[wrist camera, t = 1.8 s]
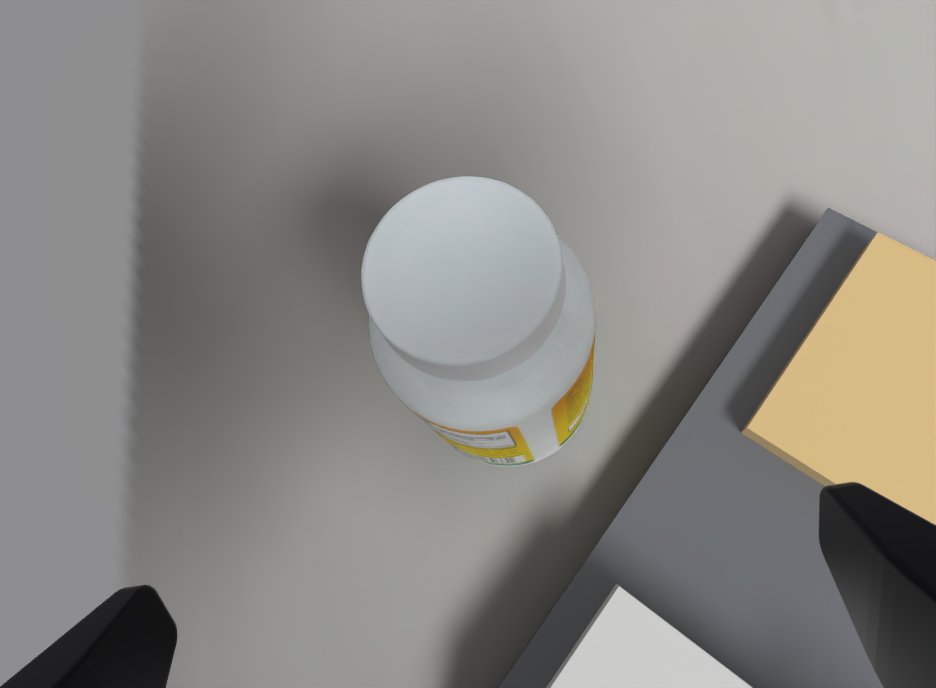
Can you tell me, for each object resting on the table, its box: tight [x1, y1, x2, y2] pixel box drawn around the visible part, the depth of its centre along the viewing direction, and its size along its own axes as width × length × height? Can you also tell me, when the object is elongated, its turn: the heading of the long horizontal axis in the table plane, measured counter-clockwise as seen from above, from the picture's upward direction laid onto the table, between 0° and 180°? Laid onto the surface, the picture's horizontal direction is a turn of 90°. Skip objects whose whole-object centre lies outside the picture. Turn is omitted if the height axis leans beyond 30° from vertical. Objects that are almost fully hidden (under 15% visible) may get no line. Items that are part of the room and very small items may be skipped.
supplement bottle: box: [361, 176, 596, 467], centre depth 17 cm, size 5×5×10 cm
